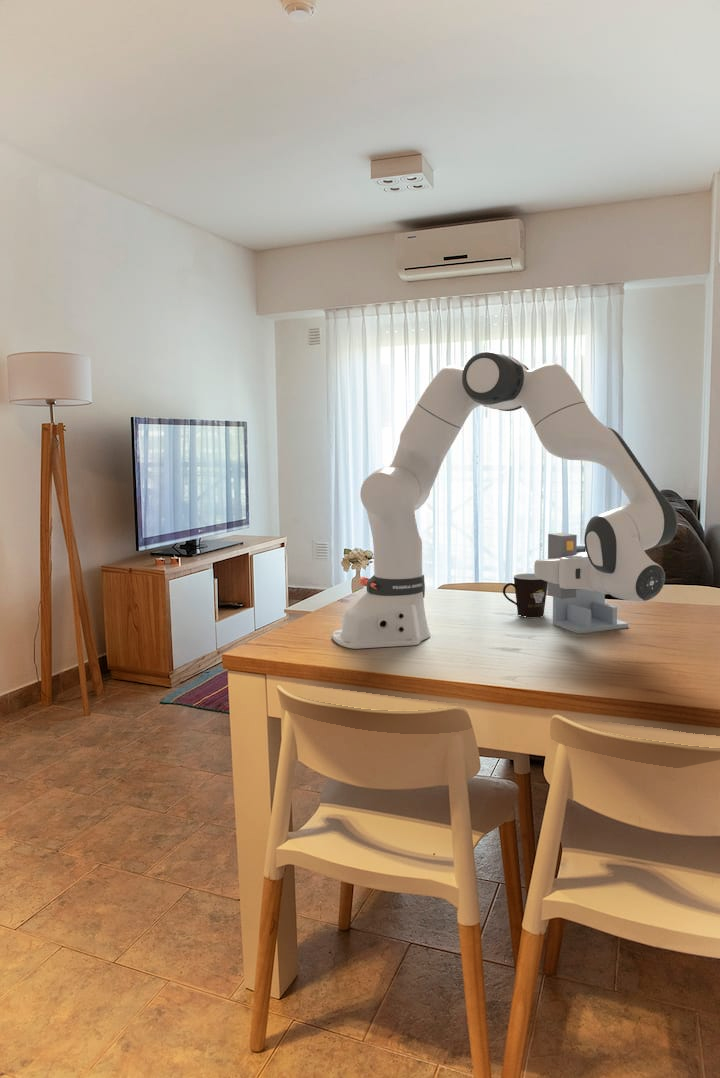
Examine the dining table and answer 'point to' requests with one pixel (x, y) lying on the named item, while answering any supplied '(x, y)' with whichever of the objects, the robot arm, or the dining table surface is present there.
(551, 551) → the grey tall rectangular block
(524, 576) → the coffee mug
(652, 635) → the dining table surface
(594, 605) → the grey l-shaped stand
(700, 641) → the dining table surface
